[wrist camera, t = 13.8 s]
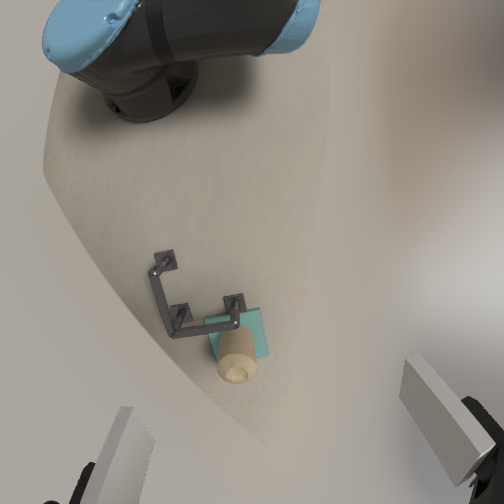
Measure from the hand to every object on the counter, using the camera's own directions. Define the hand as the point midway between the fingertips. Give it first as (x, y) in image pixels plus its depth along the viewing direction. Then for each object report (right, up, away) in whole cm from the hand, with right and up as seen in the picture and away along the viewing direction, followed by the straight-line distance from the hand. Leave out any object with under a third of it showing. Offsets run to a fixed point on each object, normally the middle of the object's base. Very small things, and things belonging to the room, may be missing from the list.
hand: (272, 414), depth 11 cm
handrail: (-9, +3, +32) cm, 33 cm away
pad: (-3, -7, +34) cm, 35 cm away
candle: (-3, -7, +34) cm, 34 cm away
